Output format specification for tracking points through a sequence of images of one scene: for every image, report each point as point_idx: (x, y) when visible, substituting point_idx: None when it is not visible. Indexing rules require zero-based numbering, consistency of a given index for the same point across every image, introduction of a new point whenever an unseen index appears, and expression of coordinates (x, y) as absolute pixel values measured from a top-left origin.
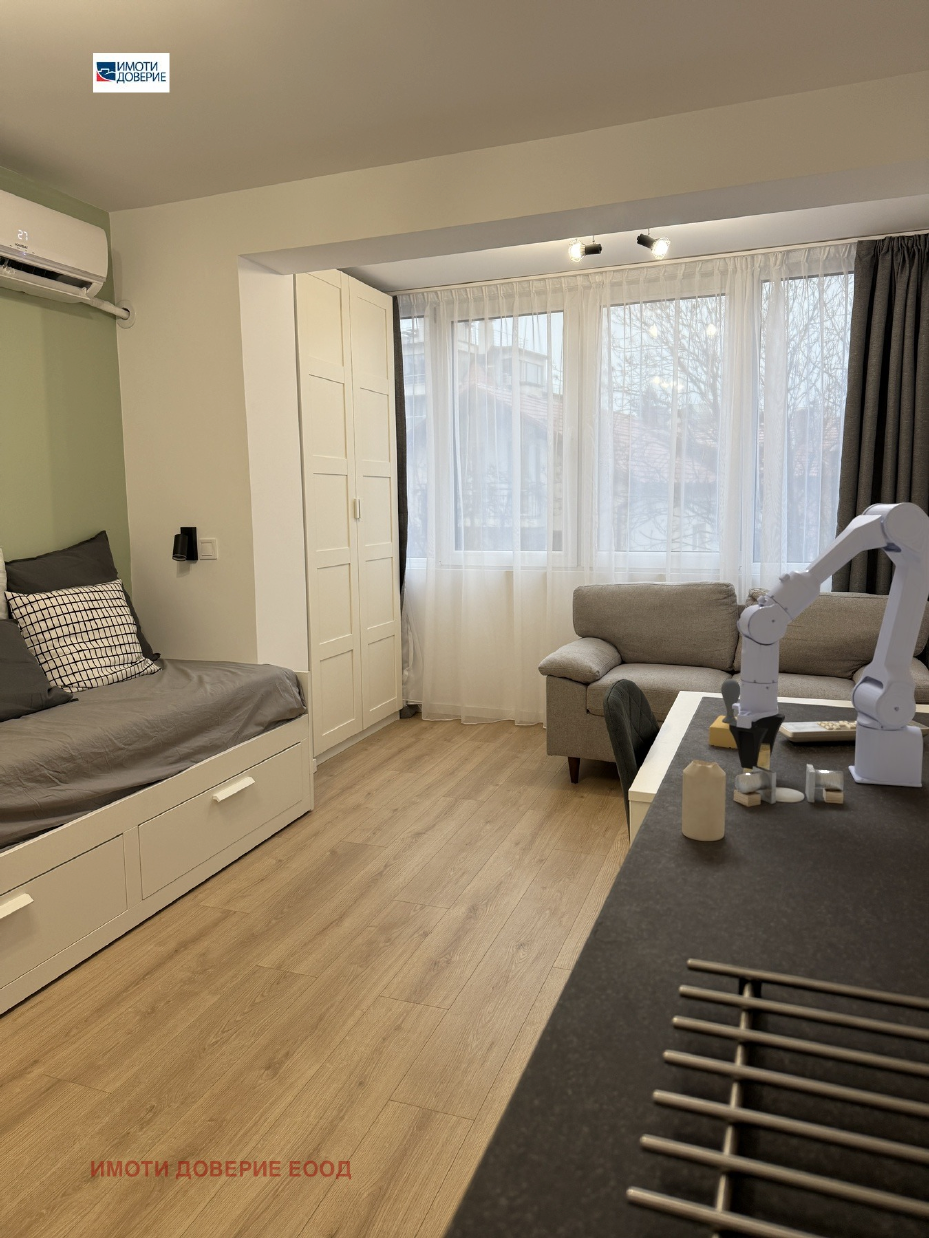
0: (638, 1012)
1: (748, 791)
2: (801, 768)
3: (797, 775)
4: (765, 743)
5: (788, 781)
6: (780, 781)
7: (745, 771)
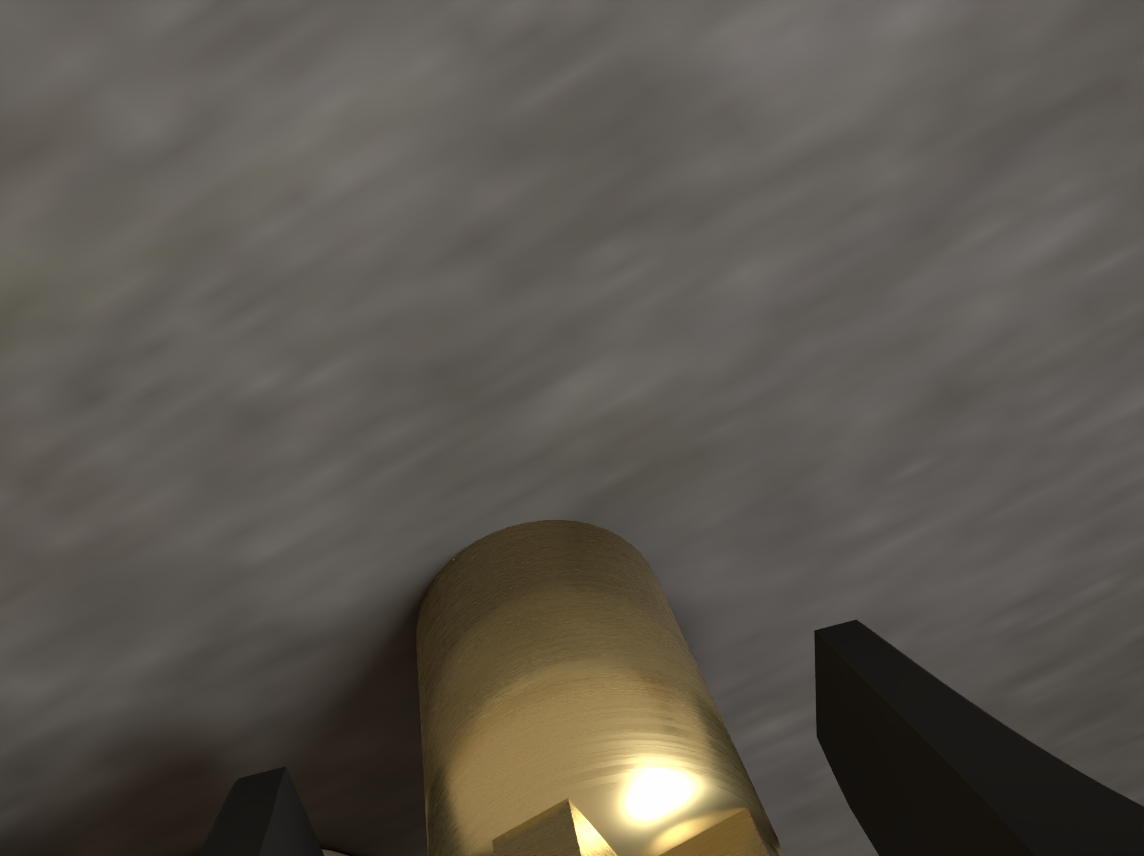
0: None
1: None
2: (1058, 686)
3: None
4: (913, 844)
5: None
6: None
7: (436, 642)
